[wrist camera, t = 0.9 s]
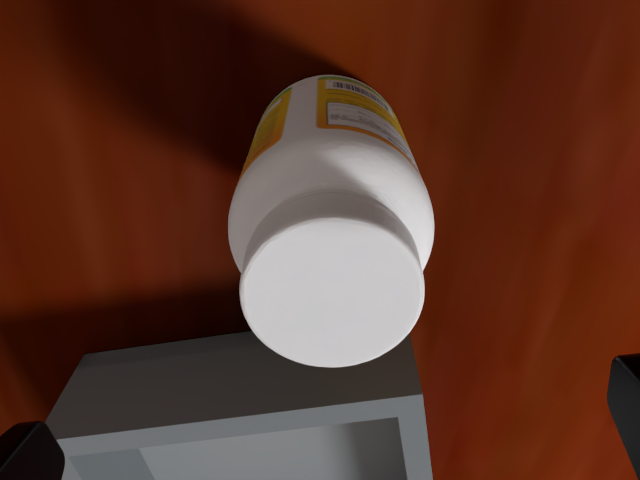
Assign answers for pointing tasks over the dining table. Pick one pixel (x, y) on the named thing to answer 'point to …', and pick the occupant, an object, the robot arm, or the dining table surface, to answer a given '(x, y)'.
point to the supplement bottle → (330, 226)
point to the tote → (240, 415)
